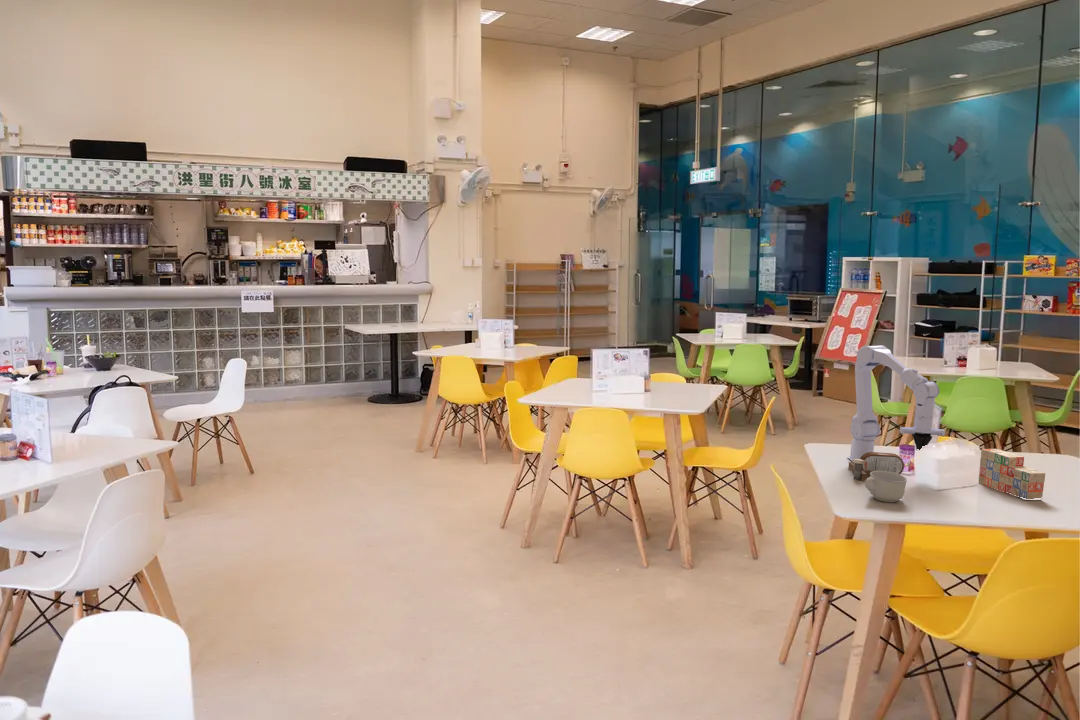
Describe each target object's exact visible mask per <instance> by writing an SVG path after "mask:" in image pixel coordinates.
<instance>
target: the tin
mask: <svg viewBox="0 0 1080 720" xmlns="http://www.w3.org/2000/svg"><path fill="white" fill-rule="evenodd" d="M860 459H861V460H864V461H865V463H864V464H862V470H868V471H887V472H892V473H896V474H899V475H902V473H903V472H904V468H905V464H904V463H905V462H904V461H903V459H902V458H901V456H899V455H898V454H896V453H892V452H880V451H879V452H877V451H874V452H868V453H865V454H863V455H862V456H861V457H860Z"/></svg>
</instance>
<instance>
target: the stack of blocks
mask: <svg viewBox="0 0 1080 720" xmlns="http://www.w3.org/2000/svg"><path fill="white" fill-rule="evenodd" d="M1024 461H1025V457H1024V456H1022V455H1018V454H1016V453H1013V452H1009V451H1006V450H1001V449H999V448H982V449H981V452H980V459H979V474H978V482H979V483H978V484H981V485H983V486H985V487H988V488H990V487H991V488H990V489H993V488H995V489H998V490H1001V491H1004V492H1008V493H1011V494H1013V495H1016V496H1019V497H1023V498H1026V499H1034V498H1041V497H1042V498H1043V494H1044V493H1043V492H1044V489H1045V488H1044V487H1045V486H1044V485H1045V480H1046V472H1043V471H1040V470H1038V469H1034V468H1031V467H1028V466H1025V465H1024V464H1025V462H1024ZM995 489H994V490H995ZM998 490H997V491H998ZM1001 491H1000V492H1001ZM1004 492H1003V493H1004Z"/></svg>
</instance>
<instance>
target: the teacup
mask: <svg viewBox="0 0 1080 720" xmlns="http://www.w3.org/2000/svg"><path fill="white" fill-rule="evenodd" d="M907 481H908V478H907V477H906V476H904V475H902V474H900V475H899V474H896V473H892V472H887V471H872V472H870V477H869V478H867V479H866V481H864V487H865V488H866V490H867V491H869V494H871V495H872V496H873V498H874V499H875V500H877V501H881V502H885V503H895V502H898V501H899V500H902V498H903V497H904V495H905V491H906V486H907V485H906V484H907Z"/></svg>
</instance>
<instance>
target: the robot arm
mask: <svg viewBox="0 0 1080 720" xmlns="http://www.w3.org/2000/svg"><path fill="white" fill-rule="evenodd" d="M881 364H883V365H886V366H887V367H888V368H890V369H891V370H892V371H893V372H895V373H896V374H897V375H899V377H900V379H899V380H900V381H901V382H902V383H904V384H905V385H906V386H907V387H908V388H909V389H911V390H912V391H913V392H912V393H913V395H914V397H915V400H914V401H915V412H914V421H913V426H909V427H908V426H905V427H904V426H902V427H901V426H900V427H899V433H900V434H902V435H905V434H908V435H911V436H912V439H913V441H914V444H915V448H916V450H917V449H919V450H920V449H921V448H922V446H925V445H927V446H928V445H929V443H930V442H931V441H932V438H933V436H942V437H945V435H946V430H945V429H941V428H933V421H934V411H935V402H936V400H935V399H936V398H937V397H938V396H939V395H940V387H939V385H938V384H937V383H936V382H935V381H930V380H928V378H927V377H924V376H923V375H922V374H921V373H919V370H918V369H916V368H911V367H906V366H905V364H903V363H902V362H901V361H900V360H899V359H898V358H897V357H896V356H895V355H893V354H892V351H891V350H890V349H889V348H887V347H886V346H885V345H863V346H861V347H860V348H859V349H858V350H857V351H856V360H855V364H854V380H855V381H854V382H855V399H856V401H855V402H856V414H855V415H853V417H852V418H851V425H850V428H849V430H850V435H851V436H852V440H851V443H850V453H849V455H850V456H847V459H848V460H850V462H852V461H853V459H860V457H861V456H862V455H863V454H865V453H868V452H875V451H874V450H875V440H877V436H879V435H880V432H881V426H880V424H879V421H878V417H877V416H876V414H875V413H874V412H873V411H874V410H873V393H872V389H873V388H872V370H873V369H874V368H876V367H877V366H878V365H881Z"/></svg>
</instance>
